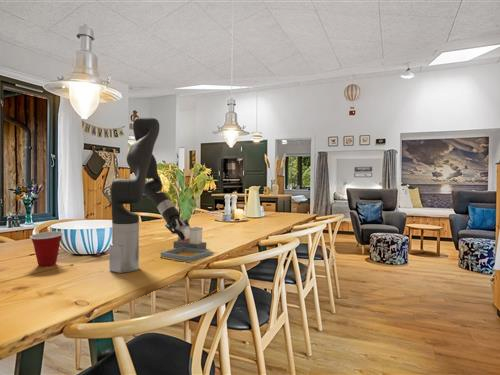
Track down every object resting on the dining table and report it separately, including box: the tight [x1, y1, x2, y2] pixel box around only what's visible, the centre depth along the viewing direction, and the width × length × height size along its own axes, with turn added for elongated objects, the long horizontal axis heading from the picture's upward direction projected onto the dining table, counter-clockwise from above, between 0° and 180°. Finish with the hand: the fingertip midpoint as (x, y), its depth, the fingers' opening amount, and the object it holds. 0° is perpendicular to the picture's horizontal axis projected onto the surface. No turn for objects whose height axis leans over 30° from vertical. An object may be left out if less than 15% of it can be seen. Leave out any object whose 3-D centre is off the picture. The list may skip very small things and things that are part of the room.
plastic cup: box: [29, 230, 64, 268], centre depth 126 cm, size 11×11×12 cm
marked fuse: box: [177, 225, 191, 242], centre depth 157 cm, size 4×4×10 cm
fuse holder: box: [173, 240, 207, 250], centre depth 155 cm, size 7×14×4 cm, turn 60°
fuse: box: [190, 226, 203, 244], centre depth 153 cm, size 4×4×10 cm
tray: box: [160, 247, 212, 264], centre depth 141 cm, size 14×16×2 cm
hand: (187, 238), depth 156 cm, fingers closed on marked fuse, 4 cm apart
